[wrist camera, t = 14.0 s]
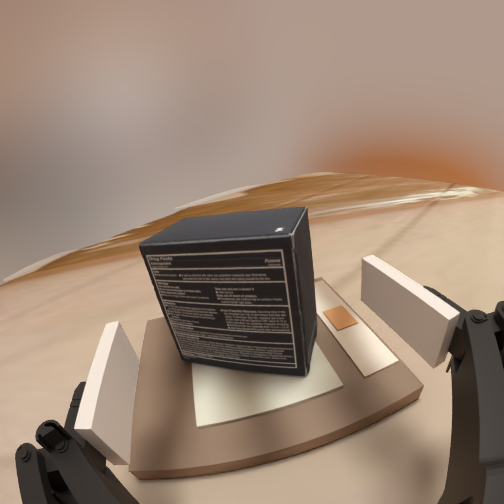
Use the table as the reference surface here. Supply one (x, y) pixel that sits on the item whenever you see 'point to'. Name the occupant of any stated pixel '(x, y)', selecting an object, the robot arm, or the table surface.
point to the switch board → (262, 399)
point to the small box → (238, 289)
